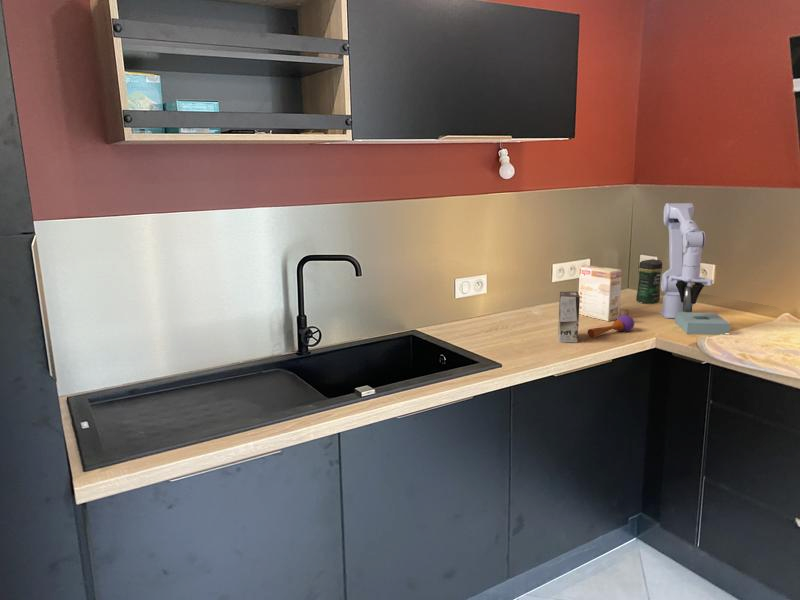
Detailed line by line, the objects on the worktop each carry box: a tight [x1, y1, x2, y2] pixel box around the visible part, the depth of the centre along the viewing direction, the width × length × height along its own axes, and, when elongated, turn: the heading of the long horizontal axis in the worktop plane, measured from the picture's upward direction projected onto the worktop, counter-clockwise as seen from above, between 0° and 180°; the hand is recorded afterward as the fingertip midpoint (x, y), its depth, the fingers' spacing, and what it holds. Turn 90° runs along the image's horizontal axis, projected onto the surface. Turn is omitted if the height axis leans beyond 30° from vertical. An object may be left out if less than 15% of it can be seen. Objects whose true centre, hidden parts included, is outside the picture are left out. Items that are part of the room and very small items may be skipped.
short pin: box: [619, 308, 630, 317], centre depth 238 cm, size 3×3×5 cm
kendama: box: [587, 314, 635, 339], centre depth 224 cm, size 6×6×20 cm
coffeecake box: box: [578, 265, 623, 322], centre depth 246 cm, size 15×7×20 cm, turn 34°
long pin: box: [682, 285, 694, 313], centre depth 225 cm, size 3×3×9 cm
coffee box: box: [557, 291, 580, 343], centre depth 217 cm, size 9×6×16 cm
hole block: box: [674, 312, 731, 336], centre depth 228 cm, size 16×14×4 cm
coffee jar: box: [635, 258, 663, 304], centre depth 269 cm, size 10×8×19 cm
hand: (688, 302), depth 226 cm, fingers closed on long pin, 3 cm apart
